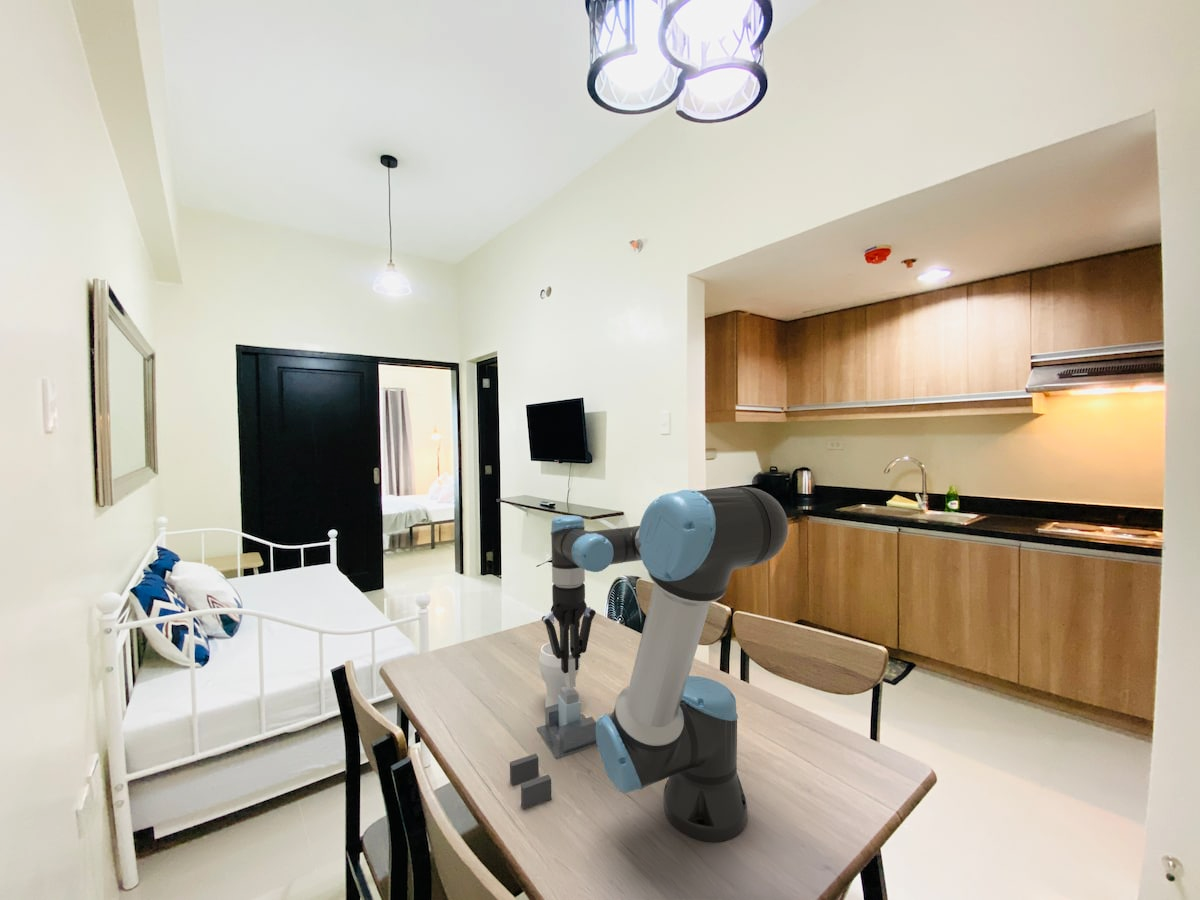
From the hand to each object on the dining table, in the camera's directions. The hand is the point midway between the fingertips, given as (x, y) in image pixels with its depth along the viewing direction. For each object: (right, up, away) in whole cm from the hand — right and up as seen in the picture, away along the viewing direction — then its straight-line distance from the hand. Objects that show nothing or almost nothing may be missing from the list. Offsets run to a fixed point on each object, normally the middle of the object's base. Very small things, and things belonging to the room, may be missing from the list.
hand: (570, 684), depth 111 cm
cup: (-3, -12, +14) cm, 18 cm away
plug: (0, -12, +1) cm, 12 cm away
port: (0, -12, +1) cm, 12 cm away
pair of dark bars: (-7, -13, -17) cm, 22 cm away
